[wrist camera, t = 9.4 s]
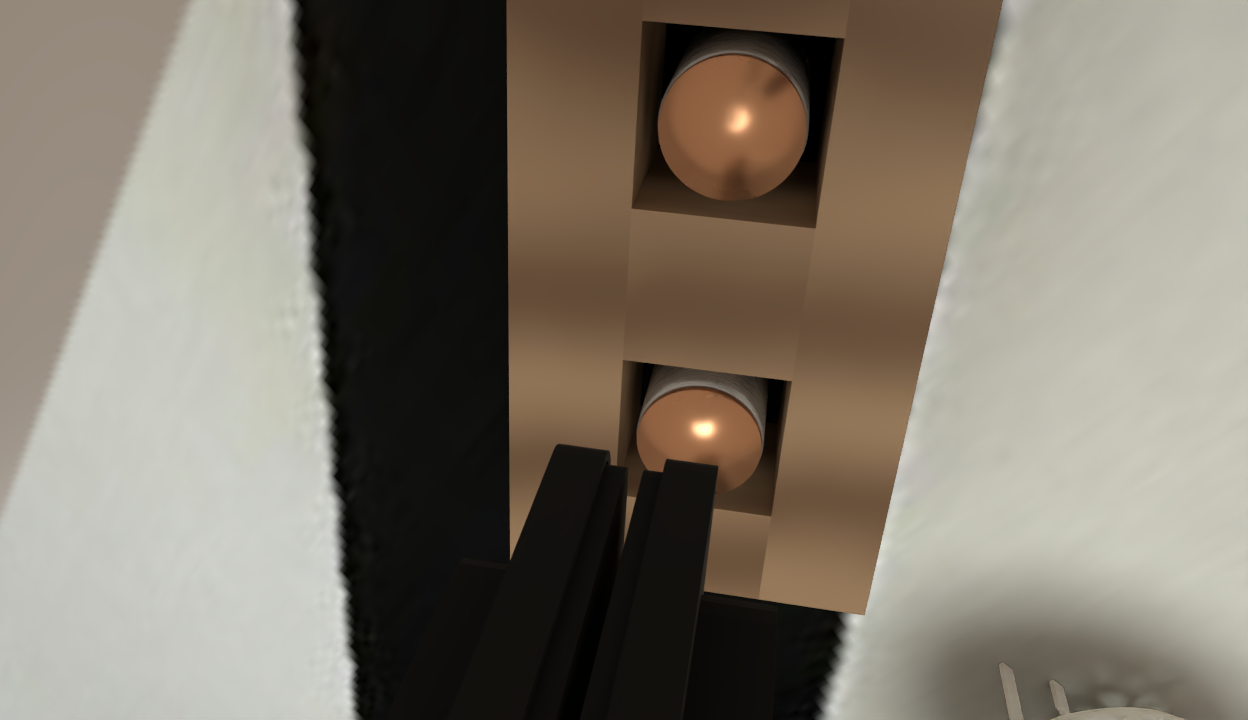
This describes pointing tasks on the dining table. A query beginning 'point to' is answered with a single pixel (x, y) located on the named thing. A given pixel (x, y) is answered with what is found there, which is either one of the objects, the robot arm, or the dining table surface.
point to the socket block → (737, 265)
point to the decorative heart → (1115, 716)
